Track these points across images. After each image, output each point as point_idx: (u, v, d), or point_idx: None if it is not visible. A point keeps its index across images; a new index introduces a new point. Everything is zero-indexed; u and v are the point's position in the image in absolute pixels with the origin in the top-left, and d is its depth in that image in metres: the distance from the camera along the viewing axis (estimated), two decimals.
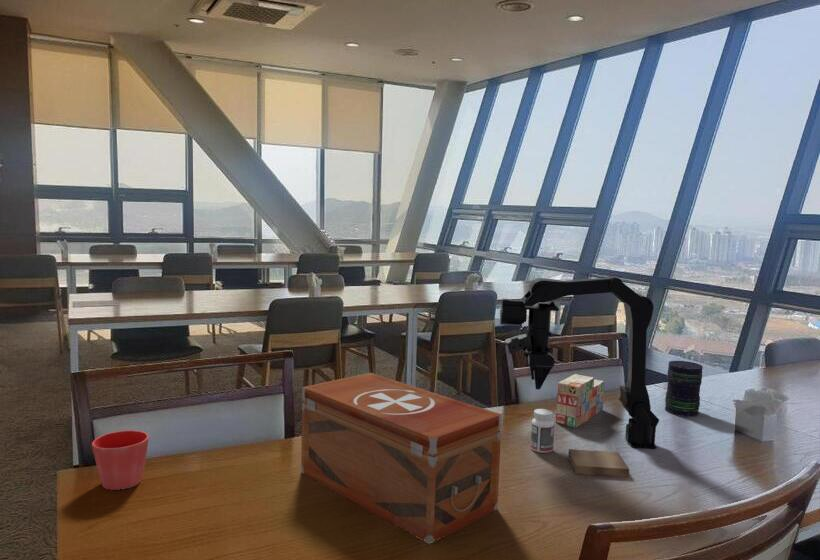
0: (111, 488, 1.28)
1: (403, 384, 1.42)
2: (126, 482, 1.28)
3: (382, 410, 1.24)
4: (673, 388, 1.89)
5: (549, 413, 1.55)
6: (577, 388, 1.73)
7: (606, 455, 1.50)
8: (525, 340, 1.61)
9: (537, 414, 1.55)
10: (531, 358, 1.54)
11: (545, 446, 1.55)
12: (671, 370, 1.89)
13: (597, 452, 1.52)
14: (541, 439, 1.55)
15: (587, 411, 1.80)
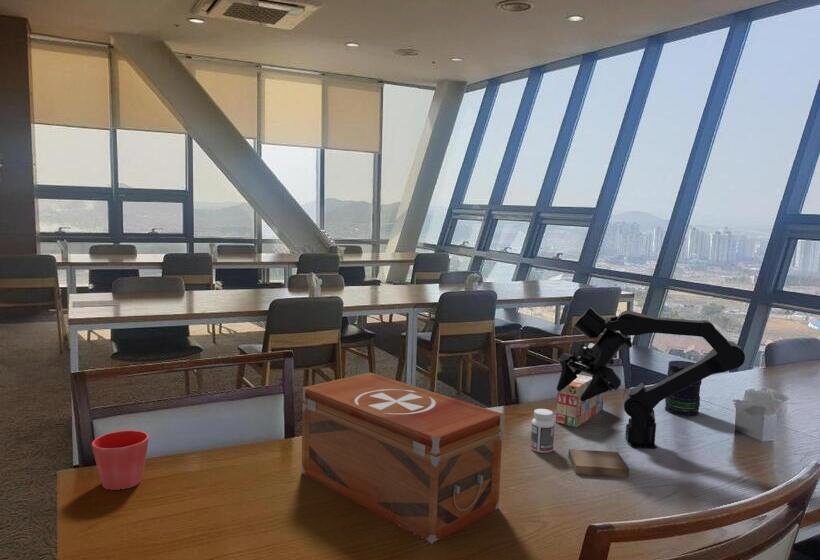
0: (111, 488, 1.28)
1: (403, 384, 1.42)
2: (126, 482, 1.28)
3: (383, 410, 1.24)
4: None
5: (549, 413, 1.55)
6: (577, 388, 1.73)
7: (606, 455, 1.50)
8: None
9: (537, 414, 1.55)
10: (610, 371, 1.52)
11: (545, 446, 1.55)
12: (671, 370, 1.89)
13: (597, 452, 1.52)
14: (541, 439, 1.55)
15: (587, 411, 1.80)
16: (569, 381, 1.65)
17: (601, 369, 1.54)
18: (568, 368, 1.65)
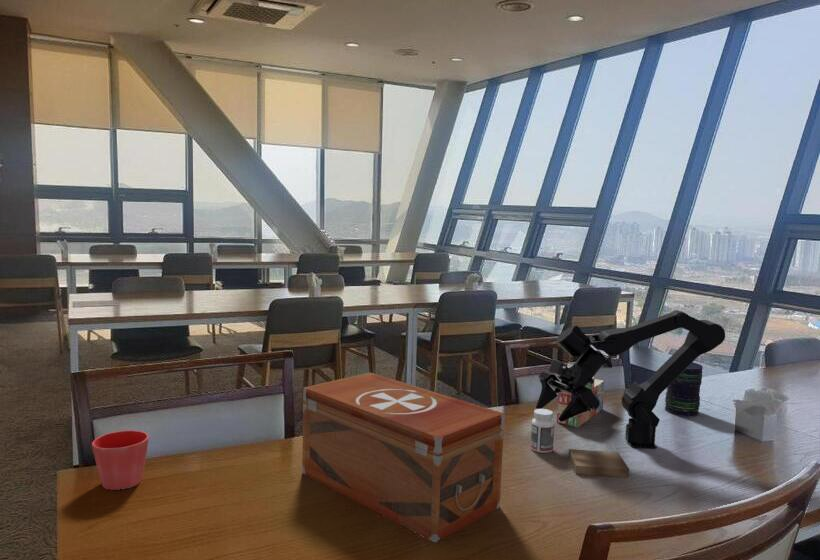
0: (111, 488, 1.28)
1: (404, 384, 1.42)
2: (126, 482, 1.28)
3: (385, 409, 1.25)
4: (673, 388, 1.89)
5: (549, 413, 1.55)
6: None
7: (606, 455, 1.50)
8: None
9: (537, 414, 1.55)
10: (588, 391, 1.50)
11: (545, 446, 1.55)
12: None
13: (597, 452, 1.52)
14: (541, 439, 1.55)
15: (588, 411, 1.81)
16: (549, 400, 1.63)
17: (580, 389, 1.52)
18: (548, 387, 1.63)
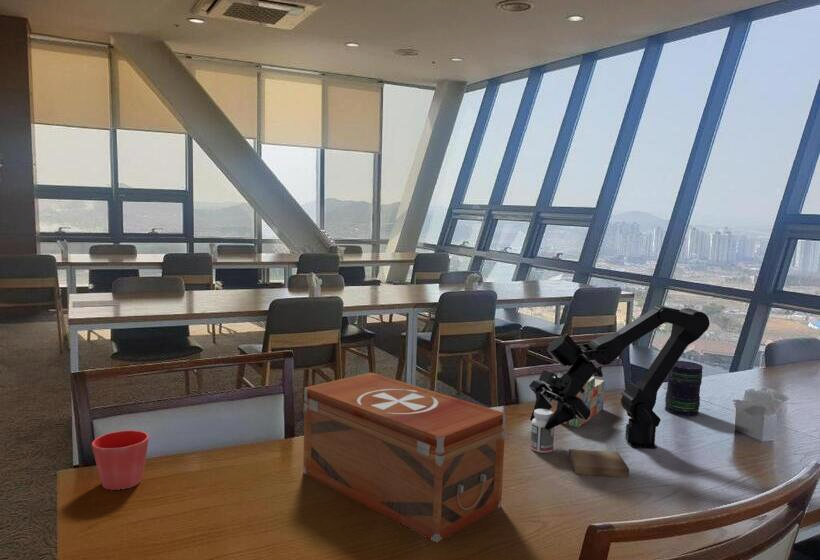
0: (111, 488, 1.28)
1: (405, 384, 1.42)
2: (126, 482, 1.28)
3: (386, 409, 1.25)
4: (673, 388, 1.89)
5: (549, 413, 1.55)
6: None
7: (606, 455, 1.50)
8: None
9: (537, 414, 1.55)
10: (578, 401, 1.49)
11: (545, 446, 1.55)
12: (671, 370, 1.89)
13: (597, 452, 1.52)
14: (541, 439, 1.55)
15: None
16: None
17: (570, 399, 1.51)
18: (542, 398, 1.60)
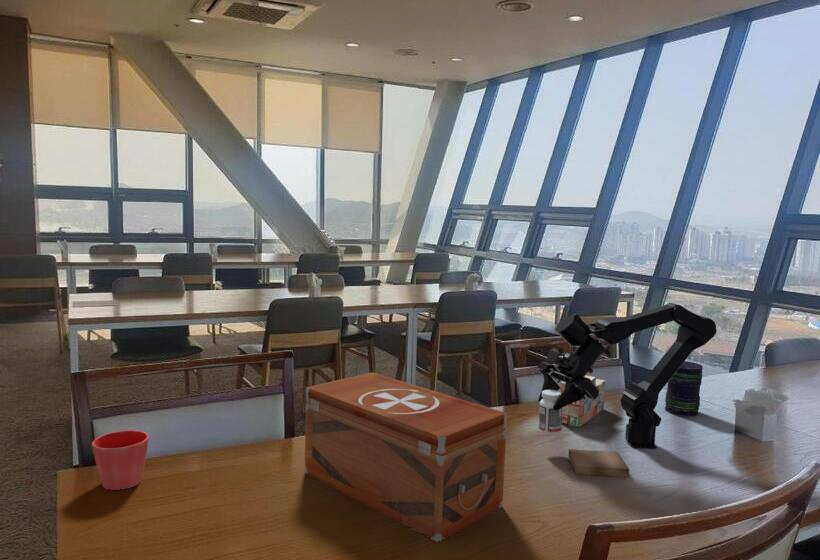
0: (111, 488, 1.28)
1: (406, 383, 1.43)
2: (126, 482, 1.28)
3: (388, 409, 1.25)
4: (673, 388, 1.89)
5: (557, 394, 1.54)
6: None
7: (606, 455, 1.50)
8: None
9: (545, 395, 1.53)
10: (587, 381, 1.47)
11: (553, 427, 1.53)
12: None
13: (597, 452, 1.52)
14: (549, 420, 1.53)
15: (589, 410, 1.81)
16: None
17: (578, 379, 1.49)
18: (550, 379, 1.59)
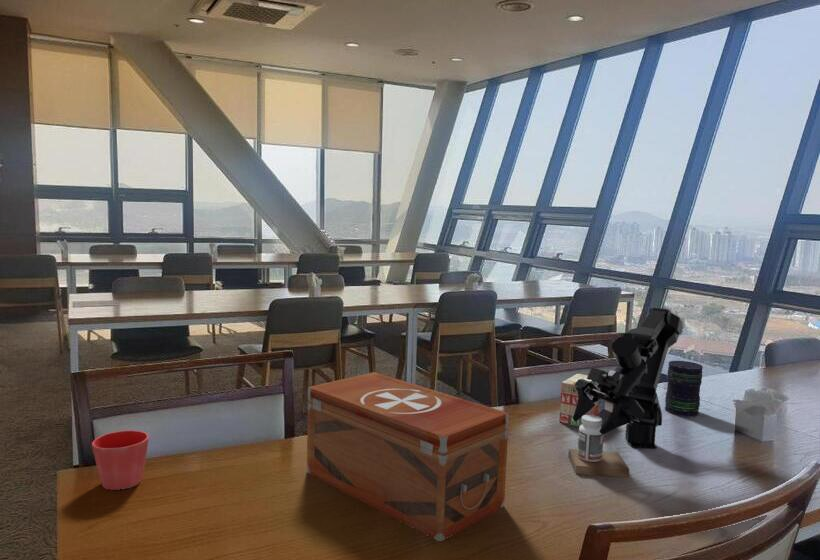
0: (111, 488, 1.28)
1: (408, 383, 1.43)
2: (126, 482, 1.28)
3: (390, 409, 1.25)
4: (673, 388, 1.89)
5: (598, 419, 1.46)
6: None
7: (606, 455, 1.50)
8: None
9: (585, 420, 1.46)
10: (632, 401, 1.39)
11: (594, 455, 1.45)
12: (671, 370, 1.89)
13: None
14: (589, 448, 1.45)
15: (590, 410, 1.81)
16: (586, 410, 1.52)
17: (623, 399, 1.41)
18: (585, 396, 1.52)
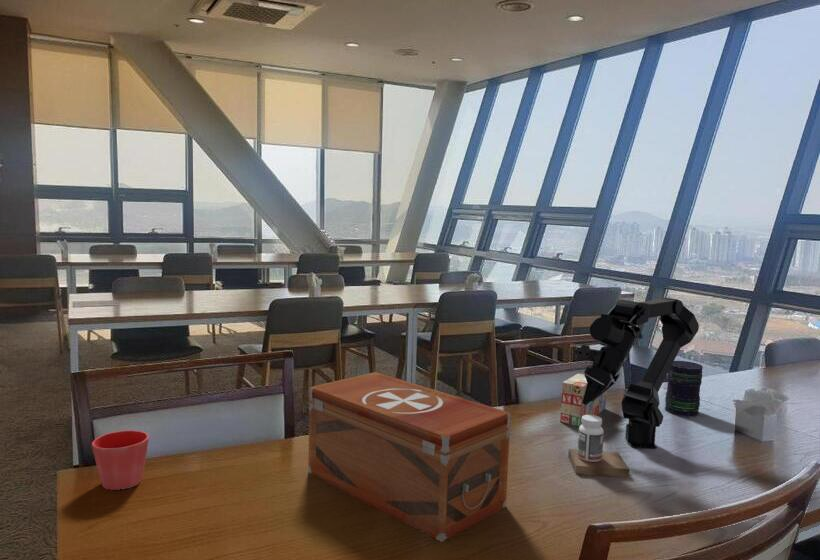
0: (111, 488, 1.28)
1: (409, 383, 1.43)
2: (126, 482, 1.28)
3: (391, 409, 1.25)
4: (673, 388, 1.89)
5: (598, 419, 1.46)
6: (582, 387, 1.74)
7: (606, 455, 1.50)
8: (596, 353, 1.54)
9: (585, 420, 1.45)
10: (588, 367, 1.47)
11: (594, 455, 1.45)
12: (671, 370, 1.89)
13: None
14: (589, 448, 1.45)
15: (591, 410, 1.81)
16: None
17: None
18: None
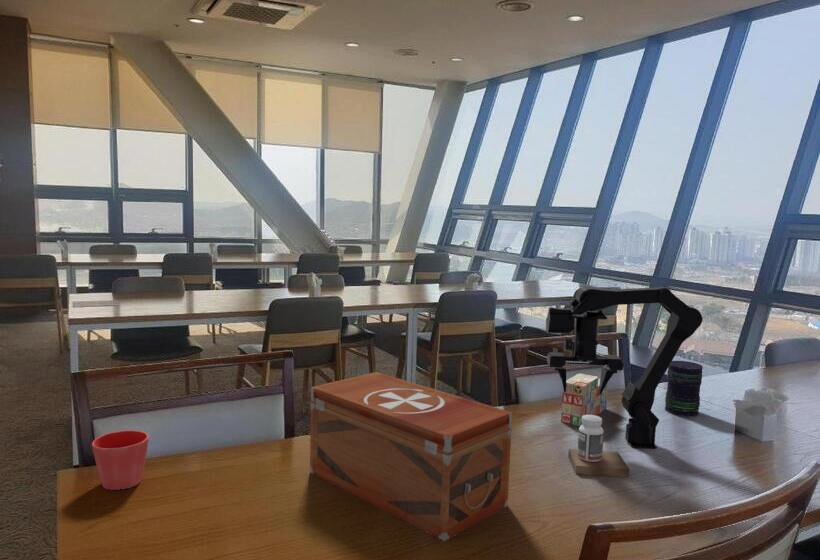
0: (111, 488, 1.28)
1: (411, 383, 1.43)
2: (126, 482, 1.28)
3: (393, 409, 1.25)
4: (673, 388, 1.89)
5: (598, 419, 1.46)
6: (582, 387, 1.74)
7: (606, 455, 1.50)
8: (573, 344, 1.66)
9: (585, 420, 1.46)
10: None
11: (594, 455, 1.45)
12: (671, 370, 1.89)
13: None
14: (589, 448, 1.45)
15: (592, 410, 1.81)
16: (602, 379, 1.61)
17: None
18: (602, 368, 1.64)
